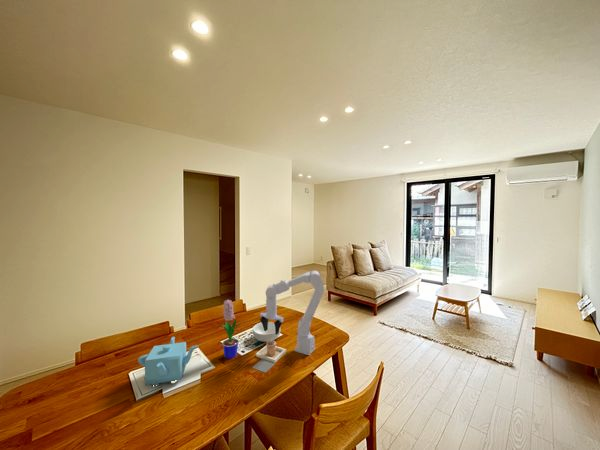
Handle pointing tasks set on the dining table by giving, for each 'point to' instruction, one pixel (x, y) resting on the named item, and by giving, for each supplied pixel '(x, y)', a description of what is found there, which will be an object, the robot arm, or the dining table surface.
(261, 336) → the cereal bowl
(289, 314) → the dining table surface
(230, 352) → the hyacinth
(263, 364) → the coaster
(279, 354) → the square beige tray
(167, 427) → the dining table surface
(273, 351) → the pot
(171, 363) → the teakettle
